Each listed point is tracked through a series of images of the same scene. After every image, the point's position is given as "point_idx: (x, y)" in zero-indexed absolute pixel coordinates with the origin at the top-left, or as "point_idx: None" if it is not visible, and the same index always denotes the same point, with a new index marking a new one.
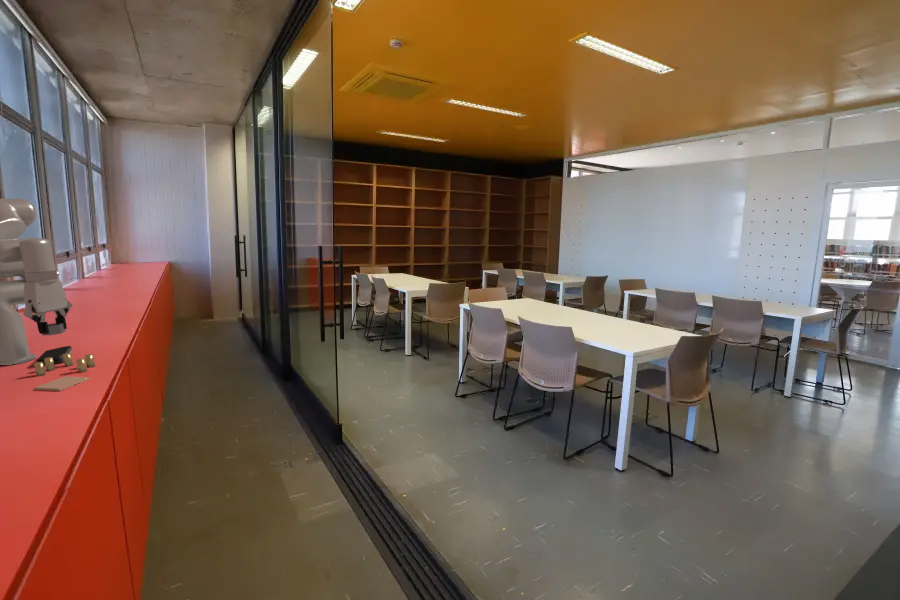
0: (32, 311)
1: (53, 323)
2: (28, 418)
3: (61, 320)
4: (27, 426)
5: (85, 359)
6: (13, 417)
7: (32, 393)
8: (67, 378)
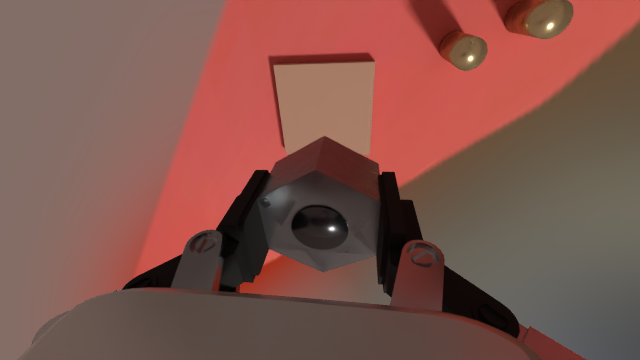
0: (145, 300)
1: (356, 204)
2: (185, 212)
3: (379, 261)
4: (173, 234)
5: (528, 10)
6: (173, 186)
7: (255, 89)
8: (356, 94)
